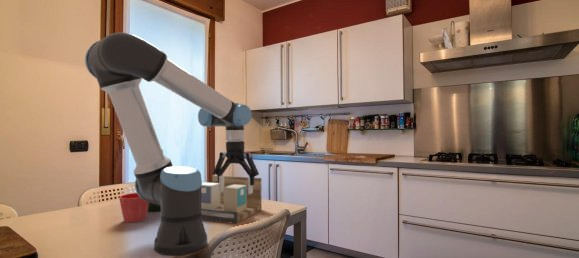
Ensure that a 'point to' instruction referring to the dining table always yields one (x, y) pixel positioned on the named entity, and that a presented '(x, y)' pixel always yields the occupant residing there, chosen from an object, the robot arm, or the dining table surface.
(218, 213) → the shelf
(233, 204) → the tea box
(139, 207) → the flower pot
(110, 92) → the robot arm
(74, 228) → the dining table surface
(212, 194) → the cream box
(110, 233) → the dining table surface
